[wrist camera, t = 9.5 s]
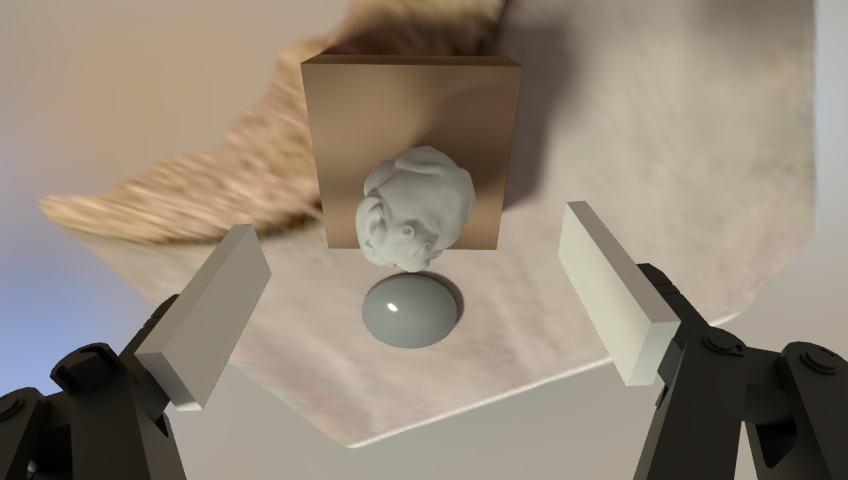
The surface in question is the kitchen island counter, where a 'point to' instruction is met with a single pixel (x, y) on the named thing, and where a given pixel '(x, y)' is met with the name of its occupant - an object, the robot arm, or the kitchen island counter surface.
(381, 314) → the grey oval dome
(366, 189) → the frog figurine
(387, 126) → the walnut block
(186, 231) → the kitchen island counter surface
